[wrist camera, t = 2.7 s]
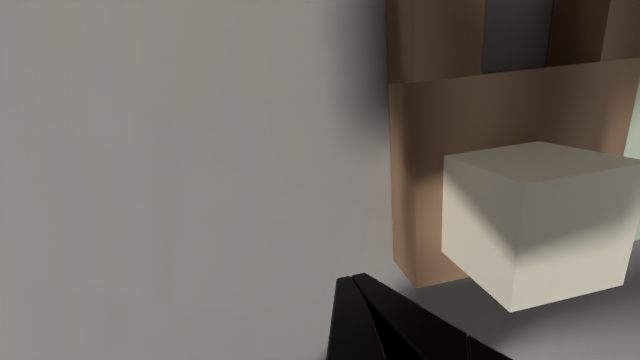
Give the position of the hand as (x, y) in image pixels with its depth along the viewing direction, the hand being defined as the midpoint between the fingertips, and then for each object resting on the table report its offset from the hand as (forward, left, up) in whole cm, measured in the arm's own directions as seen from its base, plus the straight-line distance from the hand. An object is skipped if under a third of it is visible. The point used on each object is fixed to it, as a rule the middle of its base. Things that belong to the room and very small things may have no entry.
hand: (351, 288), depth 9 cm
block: (+8, 0, -4) cm, 8 cm away
